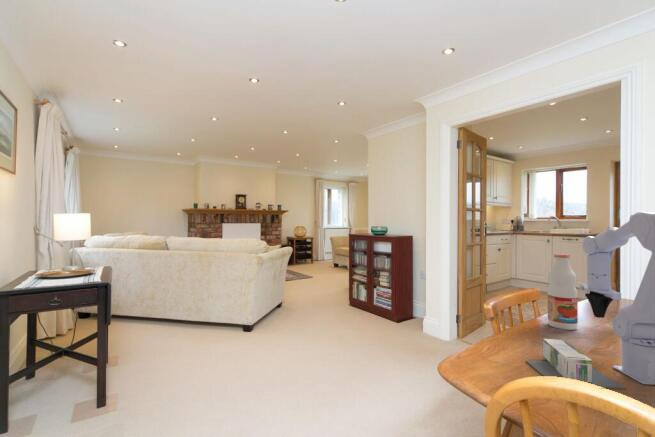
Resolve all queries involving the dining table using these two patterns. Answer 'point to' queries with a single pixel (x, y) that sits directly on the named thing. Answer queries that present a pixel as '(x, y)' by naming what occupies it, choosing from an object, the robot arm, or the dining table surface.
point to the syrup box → (567, 360)
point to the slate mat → (549, 370)
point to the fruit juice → (562, 295)
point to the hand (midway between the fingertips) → (599, 317)
